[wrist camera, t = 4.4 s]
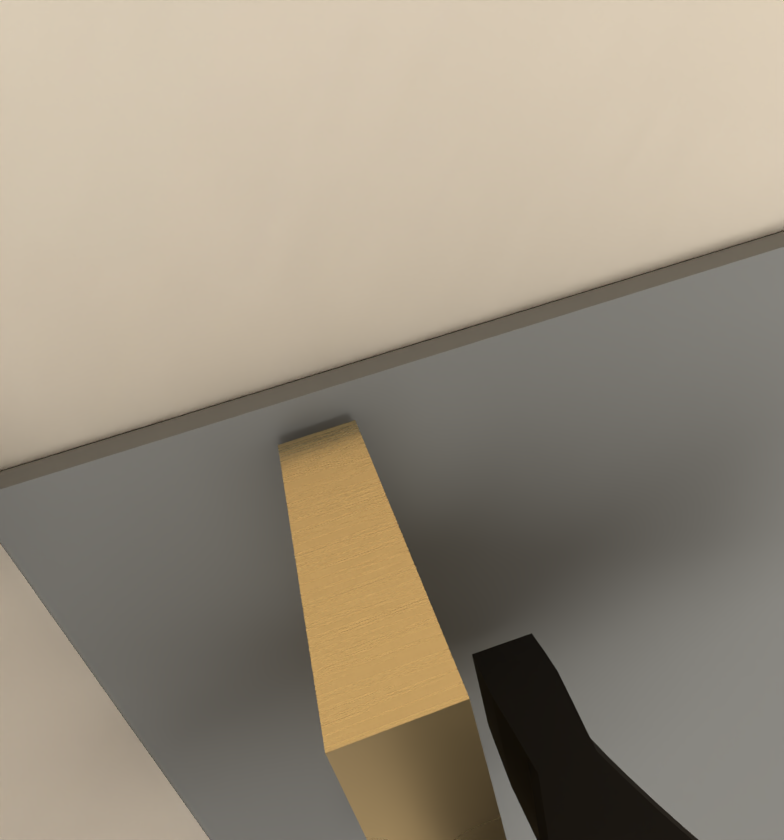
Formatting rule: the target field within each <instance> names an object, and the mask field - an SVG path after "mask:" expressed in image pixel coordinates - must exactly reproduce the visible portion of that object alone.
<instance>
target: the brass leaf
mask: <svg viewBox="0 0 784 840" xmlns="http://www.w3.org/2000/svg"><path fill="white" fill-rule="evenodd" d="M278 450H279V456H280V463H281V469H282V476H283V482H284V489H285V495H286V502H287V508H288V515H289V521H290V528H291V534H292V541H293V547H294V554H295V560H296V567H297V573H298V580H299V586H300V593H301V599H302V606H303V612H304V619H305V625H306V632H307V638H308V645H309V651H310V658H311V664H312V671H313V677H314V684H315V690H316V697H317V703H318V710H319V716H320V723H321V729H322V736H323V742H324V749H325V754H326V756H327V758H328V760H329V762H330V764H331V766H332V768H333V770H334V773H335V775H336V777H337V779H338V781H339V783H340V785H341V787H342V789H343V791H344V793H345V795H346V797H347V799H348V802H349V804H350V806H351V808H352V810H353V812H354V814H355V816H356V818H357V820H358V822H359V824H360V826H361V828H362V831H363V833H364V835H365V837H366V839H367V840H507V839H506V835H505V831H504V827H503V824H502V820H501V816H500V812H499V808H498V805H497V801H496V797H495V793H494V789H493V786H492V782H491V778H490V774H489V771H488V767H487V763H486V759H485V755H484V752H483V748H482V744H481V740H480V736H479V733H478V729H477V725H476V721H475V717H474V714H473V710H472V706H471V702H470V698H469V696H468V694H467V691H466V689H465V686H464V684H463V681H462V679H461V677H460V674H459V672H458V669H457V667H456V664H455V662H454V660H453V657H452V655H451V652H450V650H449V647H448V645H447V642H446V640H445V638H444V635H443V633H442V630H441V628H440V625H439V623H438V621H437V618H436V616H435V613H434V611H433V608H432V606H431V604H430V601H429V599H428V596H427V594H426V591H425V589H424V586H423V584H422V582H421V579H420V577H419V574H418V572H417V569H416V567H415V565H414V562H413V560H412V557H411V555H410V552H409V550H408V548H407V545H406V543H405V540H404V538H403V535H402V533H401V531H400V528H399V526H398V523H397V521H396V518H395V516H394V513H393V511H392V509H391V506H390V504H389V501H388V499H387V496H386V494H385V492H384V489H383V487H382V484H381V482H380V479H379V477H378V475H377V472H376V470H375V467H374V465H373V462H372V460H371V457H370V455H369V453H368V450H367V448H366V445H365V443H364V440H363V438H362V436H361V433H360V431H359V428H358V426H357V423H356V421H355V420H353V421H350V422H347V423H344V424H341V425H338V426H335V427H332V428H329V429H326V430H323V431H320V432H316V433H313V434H310V435H307V436H304V437H301V438H298V439H295V440H292V441H289V442H286V443H283V444H280V445H278Z"/></svg>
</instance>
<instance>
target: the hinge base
mask: <svg viewBox="0 0 784 840" xmlns="http://www.w3.org/2000/svg"><path fill="white" fill-rule="evenodd" d="M353 420H355V421H356V423H357V426H358V428H359V431H360V433H361V436H362V438H363V440H364V443H365V445H366V448H367V450H368V453H369V455H370V457H371V460H372V462H373V465H374V467H375V470H376V472H377V475H378V477H379V479H380V482H381V484H382V487H383V489H384V492H385V494H386V496H387V499H388V501H389V504H390V506H391V509H392V511H393V513H394V516H395V518H396V521H397V523H398V526H399V528H400V531H401V533H402V535H403V538H404V540H405V543H406V545H407V548H408V550H409V552H410V555H411V557H412V560H413V562H414V565H415V567H416V569H417V572H418V574H419V577H420V579H421V582H422V584H423V586H424V589H425V591H426V594H427V596H428V599H429V601H430V604H431V606H432V608H433V611H434V613H435V616H436V618H437V621H438V623H439V625H440V628H441V630H442V633H443V635H444V638H445V640H446V642H447V645H448V647H449V650H450V652H451V655H452V657H453V660H454V662H455V664H456V667H457V669H458V672H459V674H460V677H461V679H462V681H463V684H464V686H465V689H466V691H467V694H468V696H469V698H470V702H471V706H472V710H473V714H474V717H475V721H476V725H477V729H478V733H479V736H480V740H481V744H482V748H483V752H484V755H485V759H486V763H487V767H488V771H489V774H490V778H491V782H492V786H493V789H494V793H495V797H496V801H497V805H498V808H499V812H500V816H501V820H502V824H503V827H504V831H505V835H506V839H507V840H537V839H536V837H535V835H534V833H533V831H532V829H531V827H530V824H529V822H528V820H527V818H526V816H525V814H524V812H523V810H522V808H521V806H520V804H519V802H518V799H517V797H516V795H515V793H514V791H513V789H512V787H511V784H510V782H509V779H508V776H507V774H506V771H505V769H504V766H503V763H502V761H501V758H500V755H499V753H498V750H497V747H496V745H495V742H494V739H493V737H492V734H491V731H490V729H489V726H488V722H487V718H486V713H485V709H484V705H483V700H482V696H481V692H480V688H479V683H478V679H477V675H476V670H475V666H474V662H473V657H472V654H474V653H477V652H480V651H483V650H486V649H488V648H491V647H494V646H497V645H500V644H503V643H505V642H508V641H511V640H514V639H517V638H520V637H522V636H525V635H528V634H531V633H532V634H533V636H534V637H535V638H536V640H537V641H538V643H539V644H540V646H541V647H542V648H543V650H544V651H545V653H546V654H547V656H548V657H549V659H550V660H551V662H552V663H553V665H554V666H555V668H556V669H557V671H558V673H559V675H560V677H561V679H562V681H563V683H564V685H565V687H566V689H567V691H568V693H569V695H570V697H571V699H572V701H573V703H574V705H575V707H576V709H577V711H578V714H579V716H580V718H581V720H582V722H583V724H584V726H585V728H586V730H587V732H588V734H589V736H590V738H591V739H592V740H593V741H594V742H595V743H596V744H597V745H598V746H599V747H600V748H601V750H602V751H603V752H604V753H605V754H606V755H607V756H608V757H609V758H610V759H611V760H612V761H613V762H614V763H615V764H616V765H617V766H618V767H619V768H620V769H622V770H623V771H624V772H625V773H626V774H627V775H628V776H629V777H630V778H631V779H632V780H633V781H634V782H635V783H636V784H637V785H638V786H639V787H640V788H641V789H643V790H644V791H645V792H646V793H647V794H648V795H649V796H650V797H651V798H652V799H653V800H654V801H655V802H656V803H658V804H659V805H660V806H661V807H662V808H663V809H664V810H665V811H666V812H668V813H669V814H670V815H671V816H672V817H673V818H674V819H675V820H676V821H678V822H679V823H680V824H681V825H682V826H683V827H684V828H686V829H687V830H688V831H689V832H690V833H691V834H693V835H694V836H695V837H696V838H697V839H698V840H784V231H783V232H780V233H776V234H773V235H770V236H767V237H763V238H760V239H757V240H754V241H750V242H747V243H744V244H741V245H737V246H734V247H731V248H728V249H724V250H721V251H718V252H715V253H711V254H708V255H705V256H702V257H698V258H695V259H692V260H689V261H685V262H682V263H679V264H675V265H672V266H669V267H666V268H662V269H659V270H656V271H653V272H649V273H646V274H643V275H640V276H636V277H633V278H630V279H627V280H623V281H620V282H617V283H614V284H610V285H607V286H604V287H601V288H597V289H594V290H591V291H587V292H584V293H581V294H578V295H574V296H571V297H568V298H565V299H561V300H558V301H555V302H552V303H548V304H545V305H542V306H539V307H535V308H532V309H529V310H526V311H522V312H519V313H516V314H513V315H509V316H506V317H503V318H500V319H496V320H493V321H490V322H486V323H483V324H480V325H477V326H473V327H470V328H467V329H464V330H460V331H457V332H454V333H451V334H447V335H444V336H441V337H438V338H434V339H431V340H428V341H425V342H421V343H418V344H415V345H412V346H408V347H405V348H402V349H398V350H395V351H392V352H389V353H385V354H382V355H379V356H376V357H372V358H369V359H366V360H363V361H359V362H356V363H353V364H350V365H346V366H343V367H340V368H337V369H333V370H330V371H327V372H324V373H320V374H317V375H314V376H311V377H307V378H304V379H301V380H297V381H294V382H291V383H288V384H284V385H281V386H278V387H275V388H271V389H268V390H265V391H262V392H258V393H255V394H252V395H249V396H245V397H242V398H239V399H236V400H232V401H229V402H226V403H223V404H219V405H216V406H213V407H209V408H206V409H203V410H200V411H196V412H193V413H190V414H187V415H183V416H180V417H177V418H174V419H170V420H167V421H164V422H161V423H157V424H154V425H151V426H148V427H144V428H141V429H138V430H135V431H131V432H128V433H125V434H122V435H118V436H115V437H112V438H108V439H105V440H102V441H99V442H95V443H92V444H89V445H86V446H82V447H79V448H76V449H73V450H69V451H66V452H63V453H60V454H56V455H53V456H50V457H47V458H43V459H40V460H37V461H34V462H30V463H27V464H24V465H20V466H17V467H14V468H11V469H7V470H4V471H1V472H0V543H1V545H2V546H3V548H4V549H5V550H6V552H7V553H8V555H9V556H10V557H11V559H12V560H13V562H14V563H15V565H16V566H17V567H18V569H19V570H20V572H21V573H22V574H23V576H24V577H25V579H26V580H27V581H28V583H29V584H30V586H31V587H32V589H33V590H34V591H35V593H36V594H37V596H38V597H39V598H40V600H41V601H42V603H43V604H44V606H45V607H46V608H47V610H48V611H49V613H50V614H51V615H52V617H53V618H54V620H55V621H56V622H57V624H58V625H59V627H60V628H61V630H62V631H63V632H64V634H65V635H66V637H67V638H68V639H69V641H70V642H71V644H72V645H73V647H74V648H75V649H76V651H77V652H78V654H79V655H80V656H81V658H82V659H83V661H84V662H85V663H86V665H87V666H88V668H89V669H90V671H91V672H92V673H93V675H94V676H95V678H96V679H97V680H98V682H99V683H100V685H101V686H102V687H103V689H104V690H105V692H106V693H107V695H108V696H109V697H110V699H111V700H112V702H113V703H114V704H115V706H116V707H117V709H118V710H119V712H120V713H121V714H122V716H123V717H124V719H125V720H126V721H127V723H128V724H129V726H130V727H131V728H132V730H133V731H134V733H135V734H136V736H137V737H138V738H139V740H140V741H141V743H142V744H143V745H144V747H145V748H146V750H147V751H148V752H149V754H150V755H151V757H152V758H153V760H154V761H155V762H156V764H157V765H158V767H159V768H160V769H161V771H162V772H163V774H164V775H165V777H166V778H167V779H168V781H169V782H170V784H171V785H172V786H173V788H174V789H175V791H176V792H177V793H178V795H179V796H180V798H181V799H182V801H183V802H184V803H185V805H186V806H187V808H188V809H189V810H190V812H191V813H192V815H193V816H194V818H195V819H196V820H197V822H198V823H199V825H200V826H201V827H202V829H203V830H204V832H205V833H206V834H207V836H208V837H209V839H210V840H367V839H366V837H365V835H364V833H363V831H362V828H361V826H360V824H359V822H358V820H357V818H356V816H355V814H354V812H353V810H352V808H351V806H350V804H349V802H348V799H347V797H346V795H345V793H344V791H343V789H342V787H341V785H340V783H339V781H338V779H337V777H336V775H335V773H334V770H333V768H332V766H331V764H330V762H329V760H328V758H327V756H326V754H325V749H324V742H323V736H322V729H321V723H320V716H319V710H318V703H317V697H316V690H315V684H314V677H313V671H312V664H311V658H310V651H309V645H308V638H307V632H306V625H305V619H304V612H303V606H302V599H301V593H300V586H299V580H298V573H297V567H296V560H295V554H294V547H293V541H292V534H291V528H290V521H289V515H288V508H287V502H286V495H285V489H284V482H283V476H282V469H281V463H280V456H279V450H278V445H280V444H283V443H286V442H289V441H292V440H295V439H298V438H301V437H304V436H307V435H310V434H313V433H316V432H320V431H323V430H326V429H329V428H332V427H335V426H338V425H341V424H344V423H347V422H350V421H353Z"/></svg>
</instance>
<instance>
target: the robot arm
mask: <svg viewBox="0 0 784 840" xmlns="http://www.w3.org/2000/svg"><path fill="white" fill-rule="evenodd" d="M472 657H473V662H474V666H475V670H476V675H477V679H478V683H479V688H480V692H481V696H482V700H483V705H484V709H485V713H486V718H487V722H488V726H489V729H490V731H491V734H492V737H493V739H494V742H495V745H496V747H497V750H498V753H499V755H500V758H501V761H502V763H503V766H504V769H505V771H506V774H507V776H508V779H509V782H510V784H511V787H512V789H513V791H514V793H515V795H516V797H517V799H518V802H519V804H520V806H521V808H522V810H523V812H524V814H525V816H526V818H527V820H528V822H529V824H530V827H531V829H532V831H533V833H534V835H535V837H536V839H537V840H698V839H697V838H696V837H695V836H694V835H693V834H691V833H690V832H689V831H688V830H687V829H686V828H684V827H683V826H682V825H681V824H680V823H679V822H678V821H676V820H675V819H674V818H673V817H672V816H671V815H670V814H669V813H668V812H666V811H665V810H664V809H663V808H662V807H661V806H660V805H659V804H658V803H656V802H655V801H654V800H653V799H652V798H651V797H650V796H649V795H648V794H647V793H646V792H645V791H644V790H643V789H641V788H640V787H639V786H638V785H637V784H636V783H635V782H634V781H633V780H632V779H631V778H630V777H629V776H628V775H627V774H626V773H625V772H624V771H623V770H622V769H620V768H619V767H618V766H617V765H616V764H615V763H614V762H613V761H612V760H611V759H610V758H609V757H608V756H607V755H606V754H605V753H604V752H603V751H602V750H601V748H600V747H599V746H598V745H597V744H596V743H595V742H594V741H593V740H592V739H591V738H590V736H589V734H588V732H587V730H586V728H585V726H584V724H583V722H582V720H581V718H580V716H579V714H578V711H577V709H576V707H575V705H574V703H573V701H572V699H571V697H570V695H569V693H568V691H567V689H566V687H565V685H564V683H563V681H562V679H561V677H560V675H559V673H558V671H557V669H556V668H555V666H554V665H553V663H552V662H551V660H550V659H549V657H548V656H547V654H546V653H545V651H544V650H543V648H542V647H541V646H540V644H539V643H538V641H537V640H536V638H535V637H534V636H533V634H532V633H531V634H528V635H525V636H522V637H520V638H517V639H514V640H511V641H508V642H505V643H503V644H500V645H497V646H494V647H491V648H488V649H486V650H483V651H480V652H477V653H474V654H472Z"/></svg>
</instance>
